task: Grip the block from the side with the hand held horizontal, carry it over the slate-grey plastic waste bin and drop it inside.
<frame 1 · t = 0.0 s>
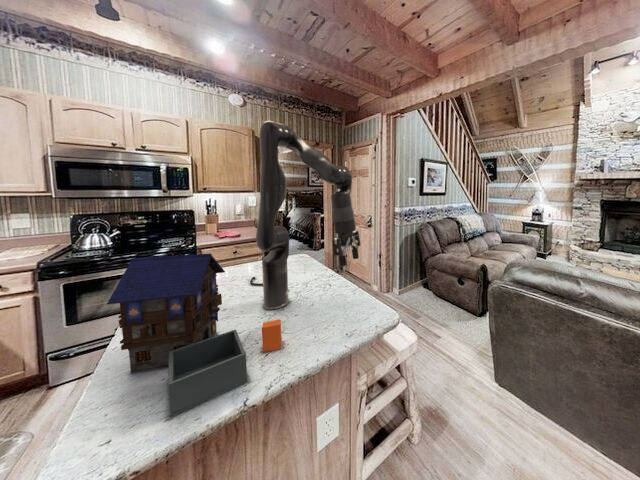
hand: (349, 262, 93), 22 cm above the counter, tool pointing down, fingers open, 8 cm apart
bin: (209, 380, 66), on the counter
block: (272, 347, 79), on the counter
miniature building: (181, 351, 77), on the counter
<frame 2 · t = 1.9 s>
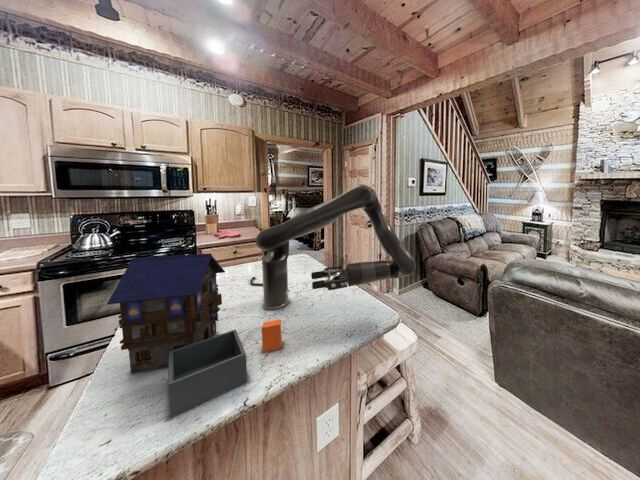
hand: (311, 280, 82), 20 cm above the counter, tool horizontal, fingers open, 8 cm apart
nothing on the counter moved.
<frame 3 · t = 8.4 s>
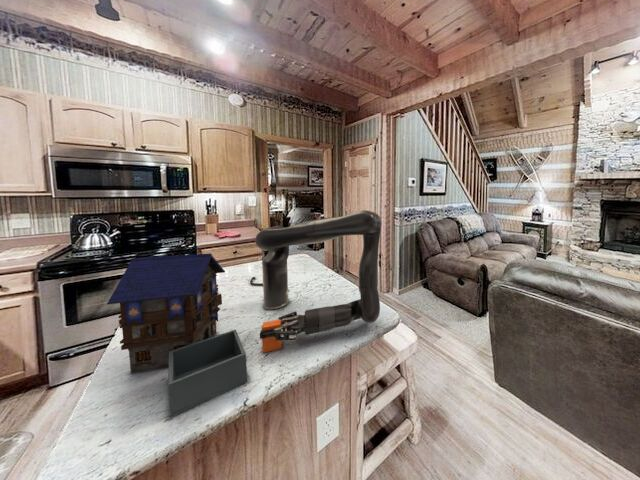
hand: (261, 331, 77), 6 cm above the counter, tool horizontal, fingers closed on block, 3 cm apart
block: (272, 347, 79), on the counter, touching gripper
everything else where it was.
when the fingers open (9 cm above the counter, at t = 16.1 s): block drops 2 cm, resting on bin.
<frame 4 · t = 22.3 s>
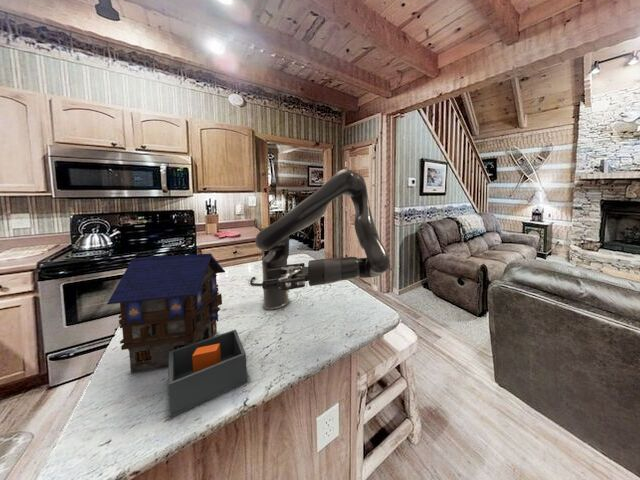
hand: (264, 279, 71), 25 cm above the counter, tool horizontal, fingers open, 8 cm apart
block: (208, 377, 66), point 1 cm above the counter, touching bin
everything else where it was.
at the end: block inside the target area in the bin (0.1 cm from its centre), point 0.8 cm above the bin's base; the gripper is holding nothing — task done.
